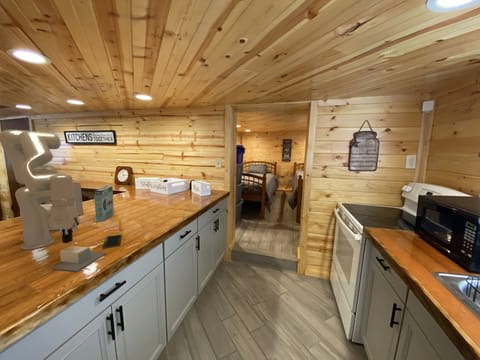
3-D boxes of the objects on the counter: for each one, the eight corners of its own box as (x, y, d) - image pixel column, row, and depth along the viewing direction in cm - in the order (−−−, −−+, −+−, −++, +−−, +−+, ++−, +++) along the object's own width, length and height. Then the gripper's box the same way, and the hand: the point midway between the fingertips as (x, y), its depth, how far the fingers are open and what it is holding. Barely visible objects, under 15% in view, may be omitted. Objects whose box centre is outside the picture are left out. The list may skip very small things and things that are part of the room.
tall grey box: (84, 212, 161) (81, 182, 158) (81, 216, 150) (78, 184, 147) (64, 214, 155) (61, 183, 151) (60, 218, 144) (56, 185, 141)
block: (59, 251, 86) (79, 252, 85) (70, 245, 91) (89, 247, 90) (61, 261, 87) (80, 263, 86) (71, 255, 92) (90, 257, 91)
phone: (102, 247, 100) (106, 236, 113) (102, 249, 100) (106, 238, 113) (120, 244, 104) (122, 234, 117) (120, 246, 104) (122, 236, 117)
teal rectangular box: (107, 214, 157) (105, 186, 154) (114, 213, 158) (112, 185, 155) (95, 222, 138) (93, 190, 135) (103, 221, 139) (101, 190, 136)
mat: (52, 269, 82) (51, 268, 82) (84, 252, 97) (84, 250, 97) (77, 272, 81) (77, 270, 81) (106, 253, 95) (106, 252, 95)
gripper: (39, 204, 83) (44, 244, 85) (70, 205, 81) (74, 247, 84) (57, 200, 90) (61, 237, 93) (86, 201, 89) (89, 239, 91)
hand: (67, 242), depth 88 cm, fingers closed
